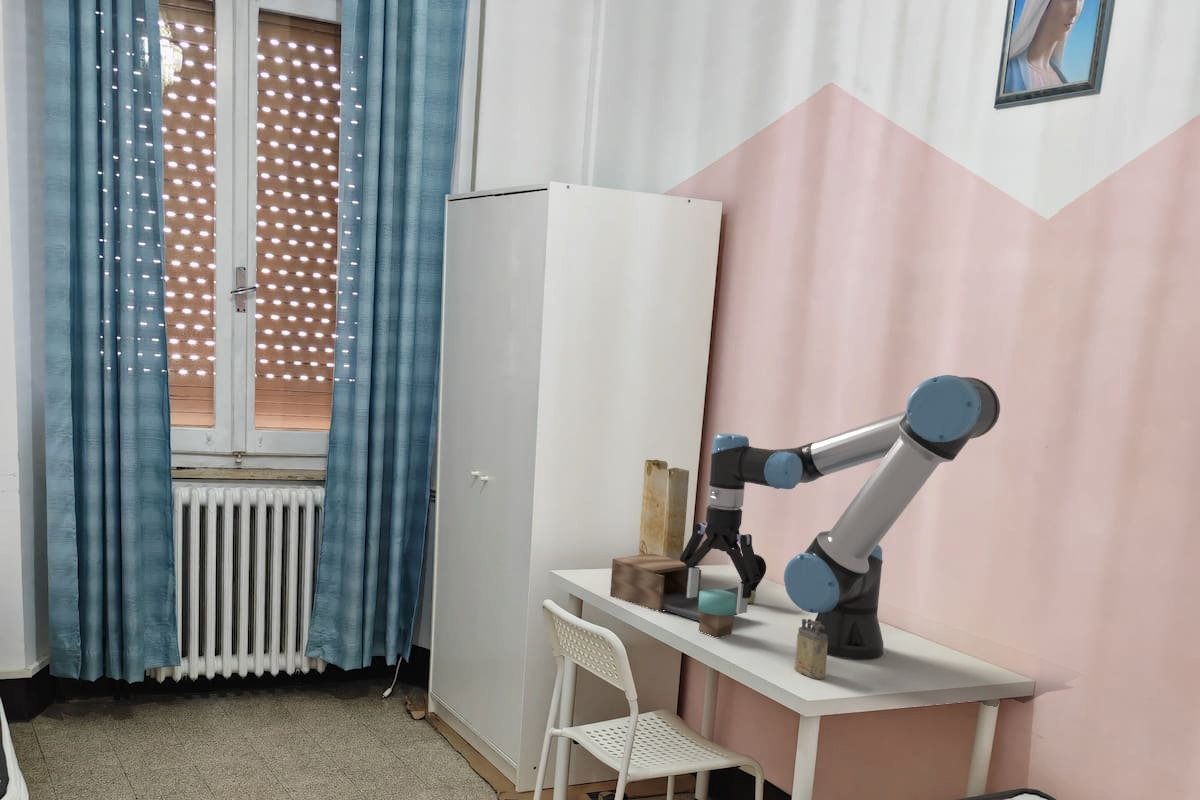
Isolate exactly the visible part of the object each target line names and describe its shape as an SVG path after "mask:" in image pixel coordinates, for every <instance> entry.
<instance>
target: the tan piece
mask: <svg viewBox="0 0 1200 800" xmlns="http://www.w3.org/2000/svg"><path fill="white" fill-rule="evenodd" d="M668 465H669V464H668V462H667V461H665V460H659V459H647V460H645V461H644V473H643V483H642V484H643V486H642V497H641V498H642V499H641V510H640V512H641V513H640V525H639V529H640V530H639V540H638V541H639V542H638V555H644V554H651V553H653V554H657V555H660V556H664V557H668V558H671V559H675V560H679V561H680V557H681V555H682V553H683V551H684V544H685V536H686V523H687V522H686V521H687V509H688V497H689V481H690V480H689V479H690V470H689V469H688V470H687V469H684V468H679V467H671V468H668Z"/></svg>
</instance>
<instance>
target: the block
mask: <svg viewBox="0 0 1200 800" xmlns="http://www.w3.org/2000/svg"><path fill="white" fill-rule="evenodd" d="M698 622H699V624H698V632H699V631H700V632H703V633H706V634H709V635H711V636H710V637H712V636H714V637H713V638H715V637H719V638H722V636H724V637H726V635H728V636H732V635H731V634H732V633H733V623H734V616H733V615H726V616H721V615H712V614H707V613H704V612H701V611H700V621H698ZM700 632H699V633H700ZM703 633H702V634H703ZM706 634H705V635H706ZM709 635H708V636H709Z"/></svg>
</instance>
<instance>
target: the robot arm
mask: <svg viewBox="0 0 1200 800" xmlns="http://www.w3.org/2000/svg"><path fill="white" fill-rule="evenodd" d="M1000 403H1001V402H1000V398H999V397H998V395H997V392H996V391H995V390H994V388H993V387H992V386H991V385H990V384H989V383H987V382H985V381H983V380H981V379H980V378H976V377H970V376H969V377H968V376H964V377H962V376H958V375H951V374H944V375H943V374H942V375H938V376H934V377H931V378H928V379H926V380H924V381H922V383H920V384H918V386H916V387H915V388H914V390H913V391H912V392H911V394H910V396H909V398H908V399H907V403H906V410H904V411H901V412H898V413H895V414H892V415H890V416H886V417H883V418H880V419H878V420H875V421H872V422H869V423H865V424H863V425H860V426H857V427H854V428H851V429H848V430H845V431H842V432H840V433H837V434H833V435H831V436H830V435H829V436H827V437H825V438H822V439H819V440H816V441H814V442H810V443H807V444H804V445H802V446H801V445H800V446H798V447H797V446H796V447H793V448H781V449H780V448H778V449H768V448H761V447H760V448H759V447H753V446H750V442H749V438H748V436H746V435H741V434H735V433H717V434H716V435H714V437H713V442H712V450H711V452H710V456H711V459H710V474H709V483H708V484H709V485H708V492H707V503H708V504H709V505H708V506H707V507H706V513H705V514H706V515H705V522H706V523H704V522H698V523H695V524H694V526H693V527H694V528H693V532H692V535H691V536H690V538H689V541H688V542H687V544H686V546H685V548H684V549H683V553H682V555H681V557H680V561H681V562H684V563H685V564H686V566H687V572H686V581H688V586H687V598H692V597H697V593H698V581H699V570H701V568H700V567H699V563H700V562H701V561H702V560H703V559H704V558H705V557H706V555H708V553H710V552H711V550H712V549H714V550H719V551H721V552H726V555H728V556H729V557H730V559H731V562H732V564H733V565H734V568H735V569H736V572H737V573H738V576H739V578H740V580H741V581H739V582H738V597H737V608H736V613H737V615H740V614H746V613H748V604H749V603H748V598H750V597H751V591H752V583H753V582H757V581H761V582H762V580H761V575H760V572H759V568H758V565H757V561H756V558H755V554H756V553H755V552H754V547H753V536H752V534H751V533H748V534H740V527H741V525H742V519H743V510H742V507H743V506H744V499H745V486H746V485H745V484H746V483H748V484H755V485H760V486H765V487H770V488H773V489H776V490H779V489H781V490H782V489H783V490H793V489H795V488H796V486H797V485H799V484H800V483H801V484H806V483H811V482H814V481H816V480H818V479H819V478H822V477H825V476H827V475H831V474H833V473H837V472H840V471H843V470H847V469H850V468H854V467H856V466H859V465H863V464H866V463H869V462H873V461H875V460H879V459H882V460H881V462H880V463H879V464H878V465H877V467H875V470H874V471H873V473H871V475H870V476H869V478H868V479H867V481H866V482H865V483H864V485H863V486H862V487H861V488H860V490H859V491H858V493H857V494H856V495H855V497H854V498H853V499H852V501H851V502H850V504H848V506H847V508H846V509H845V511H843V513H842V514H841V516H840V517H839V519H838V520H837V521H836V523H835V524H834V525H833V527H832V528H831V530H826V531H824V530H823V531H820V532H819V533H818V534H816V537H814V539H813V541H812V542H811V543H810V545H809V546H808V547H807V549H806V550H805V551H804V552H803V553H799V554H797V555H795V556H794V557H793V558H791V559H790V561H788V563H787V565H786V567H785V569H784V574H783V582H784V586H785V591H786V593H787V595H788V597H789V598H790V600H791V602H793V604H795V606H797V608H799V609H801V610H802V611H805V612H807V613H812V614H816V617H815V620H814V621H819V622H821V624H822V625H824V626H825V628H824V629H821V628H820V629H819V631H820V632H822V633H824V634H826V635H827V636H828V638H827V641H828V647H827V655H830V656H834V657H838V658H842V659H843V658H844V659H851V660H870V659H872V660H873V659H877V658H880V657H882V656H883V653H884V639H883V635H882V631H881V627H880V623H879V618H878V612H879V611H878V609H879V598H880V589H881V588H880V586H881V579H882V578H881V577H882V576H881V575H882V566H883V562H884V560H883V549H882V547H881V545H880V542H881V541H882V540H883V538H884V537H885V536H886V535H887V533H888V532H889V530H890V529H891V528H892V527H893V525H894V524H895V522H896V521H897V520H898V519H899V517H900V516H901V515H902V514H903V512H904V511H905V509H906V508H908V505H909V504H910V503H911V502H912V501H913V499H914V497H915V496H916V495H917V494H918V492H919V491H920V490H921V489H922V487H923V486H924V485H925V483H926V482H927V481H928V479H930V477H931V476H932V474H933V473H934V472H935V471H936V469H937V467H938V466H939V465H940V464H941V463H948V462H953V461H954V460H955V458H956V457H957V456H958V455H959V453H960V452H961V450H962V449H963V448H964V447H965V446H966V444H968V442H969V440H970V439H971V440H972V439H975V438H980V437H981V436H984V435H986V434H987V433H988V432H990V431H991V430H992V429H993V428H994V427H995V425H996V424H997V422H998V421H999V417H1000V413H1001V404H1000ZM705 535H706V539H705V540H704V541H703V542H702V540H703V538H704V536H705ZM701 542H702V543H701ZM700 544H701V545H700ZM699 545H700V547H699ZM698 547H699V548H698ZM811 628H813V625H811ZM813 629H814V628H813Z"/></svg>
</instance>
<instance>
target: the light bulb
mask: <svg viewBox="0 0 1200 800" xmlns="http://www.w3.org/2000/svg"><path fill="white" fill-rule="evenodd" d="M754 554H755V558H756V561H757V565H758V568H759V572H760V575H761V581H757V582H753V583H752V591H751V597H750V598H748V604H754V603H755V601H756V596H757V595H756V593H757V587H758V586H759V585H760V583H761V582H762V581H763V579H764V577H765V575H766V571H767V563H766V561H765V559H764V558H763V557H762V556H761V555H759V554H757V553H754Z"/></svg>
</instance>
